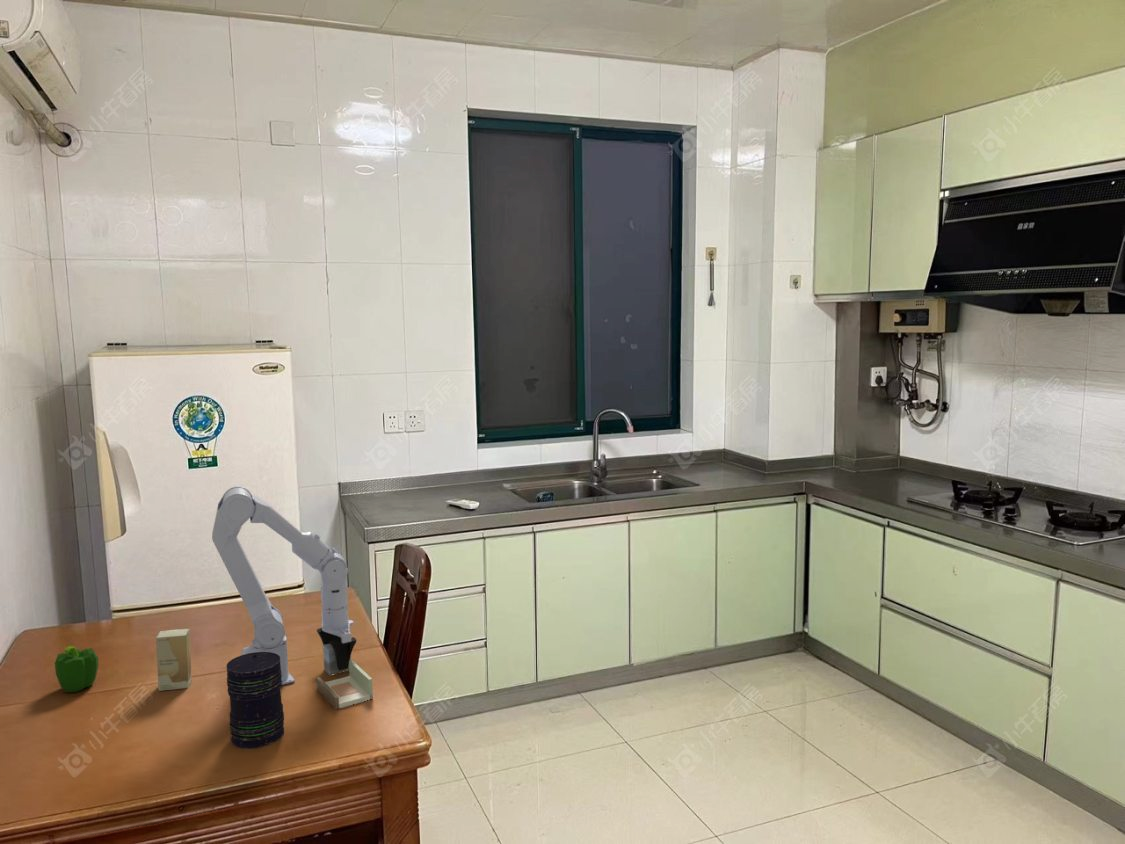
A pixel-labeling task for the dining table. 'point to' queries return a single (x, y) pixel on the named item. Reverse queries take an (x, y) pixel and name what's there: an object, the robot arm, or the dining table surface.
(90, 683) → the bell pepper
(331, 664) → the slate cabinet block
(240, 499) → the robot arm
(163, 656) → the skincare box
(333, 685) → the open-front display tray
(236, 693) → the storage jar
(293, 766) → the dining table surface
